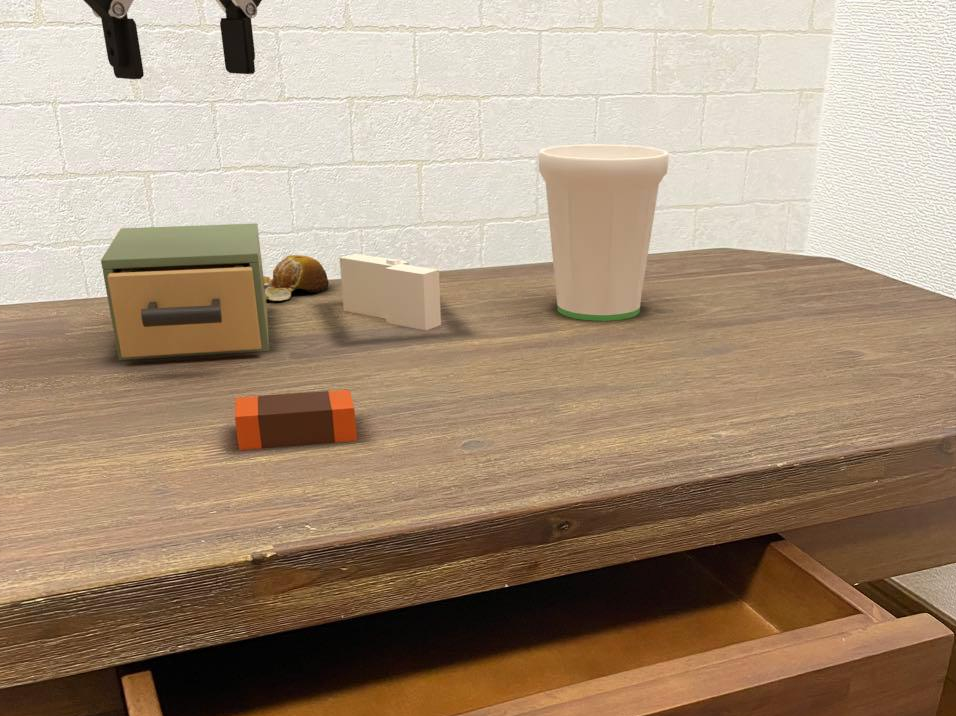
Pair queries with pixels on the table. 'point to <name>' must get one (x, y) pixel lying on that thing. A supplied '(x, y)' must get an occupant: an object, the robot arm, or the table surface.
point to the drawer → (185, 309)
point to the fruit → (295, 277)
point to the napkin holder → (391, 290)
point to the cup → (601, 225)
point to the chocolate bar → (295, 419)
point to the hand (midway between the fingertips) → (187, 75)
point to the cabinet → (189, 260)
